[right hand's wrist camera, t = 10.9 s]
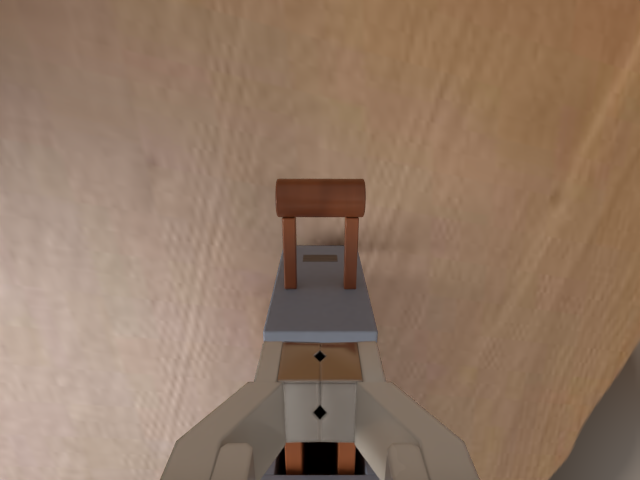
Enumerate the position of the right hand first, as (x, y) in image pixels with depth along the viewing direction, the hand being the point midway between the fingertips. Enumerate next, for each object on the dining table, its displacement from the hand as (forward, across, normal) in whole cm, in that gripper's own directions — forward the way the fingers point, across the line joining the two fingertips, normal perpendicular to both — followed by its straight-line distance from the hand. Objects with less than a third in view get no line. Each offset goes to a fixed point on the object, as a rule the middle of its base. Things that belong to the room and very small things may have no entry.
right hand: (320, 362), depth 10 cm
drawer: (+14, 0, -9) cm, 17 cm away
